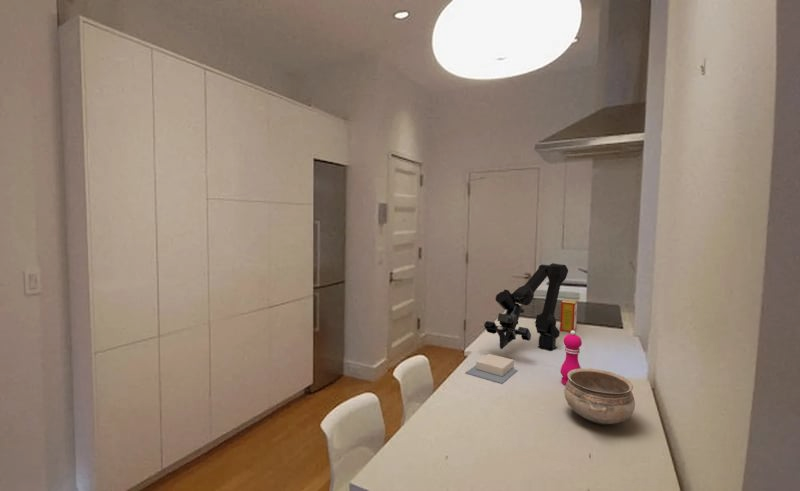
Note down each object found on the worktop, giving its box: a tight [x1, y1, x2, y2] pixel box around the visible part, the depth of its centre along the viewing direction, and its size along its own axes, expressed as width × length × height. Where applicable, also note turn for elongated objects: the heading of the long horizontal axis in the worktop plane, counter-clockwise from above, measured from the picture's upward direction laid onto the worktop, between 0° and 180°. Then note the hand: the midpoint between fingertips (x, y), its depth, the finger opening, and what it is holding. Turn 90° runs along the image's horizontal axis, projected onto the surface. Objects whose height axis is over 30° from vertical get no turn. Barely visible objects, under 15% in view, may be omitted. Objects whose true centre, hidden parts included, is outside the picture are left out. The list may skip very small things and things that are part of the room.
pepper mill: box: [559, 330, 583, 387], centre depth 140 cm, size 7×7×20 cm
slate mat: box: [465, 365, 518, 385], centre depth 151 cm, size 15×15×1 cm
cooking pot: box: [563, 367, 636, 426], centre depth 116 cm, size 25×19×12 cm
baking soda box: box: [559, 298, 579, 333], centre depth 206 cm, size 10×6×16 cm
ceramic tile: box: [475, 353, 515, 376], centre depth 153 cm, size 3×11×11 cm
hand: (501, 348), depth 156 cm, fingers closed
